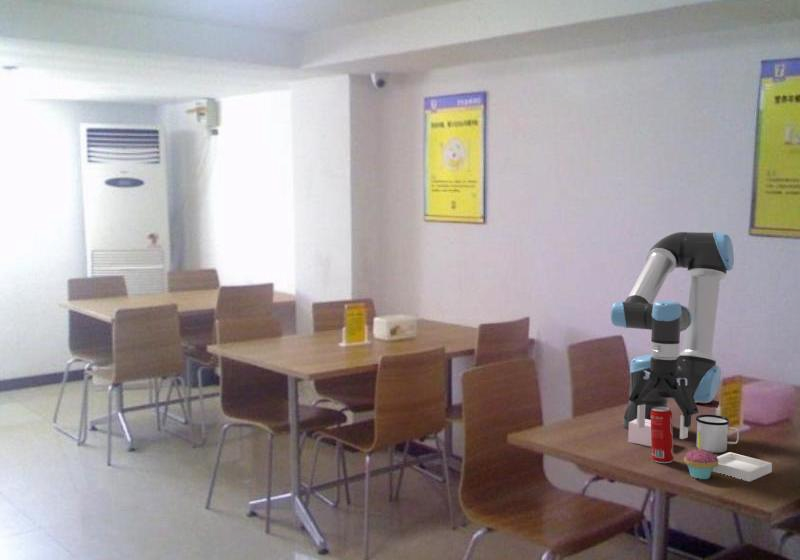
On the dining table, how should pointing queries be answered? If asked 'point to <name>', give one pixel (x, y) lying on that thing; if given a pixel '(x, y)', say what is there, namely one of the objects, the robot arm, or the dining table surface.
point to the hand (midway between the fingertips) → (661, 432)
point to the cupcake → (700, 461)
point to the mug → (714, 433)
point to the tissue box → (640, 433)
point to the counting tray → (742, 466)
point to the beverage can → (661, 434)
